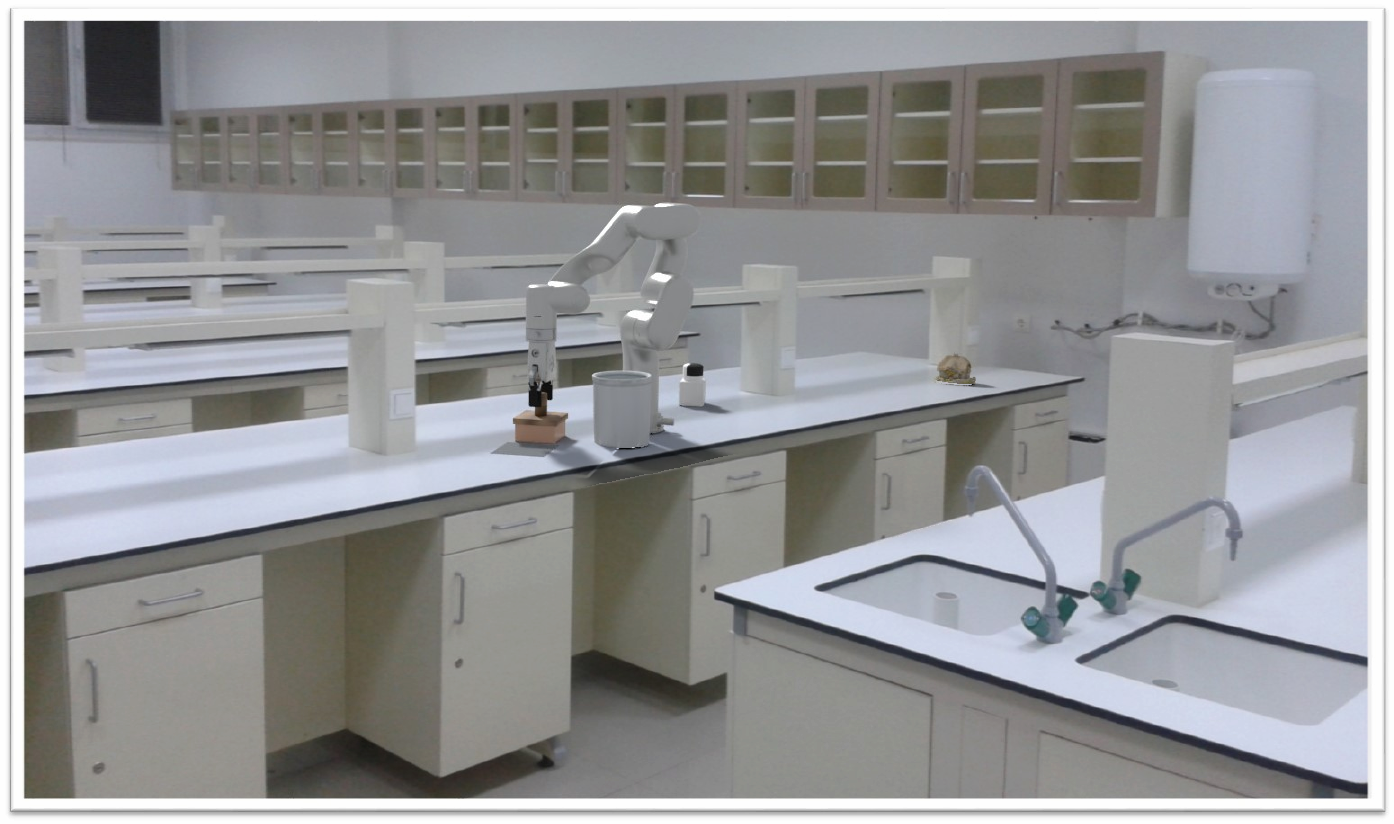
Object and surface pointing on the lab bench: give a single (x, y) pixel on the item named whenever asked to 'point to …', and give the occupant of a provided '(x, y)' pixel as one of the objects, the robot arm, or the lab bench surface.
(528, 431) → the orange open box
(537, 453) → the mat
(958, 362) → the ceramic model
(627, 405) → the utensil holder
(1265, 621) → the lab bench surface
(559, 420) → the lid
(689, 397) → the medicine bottle
